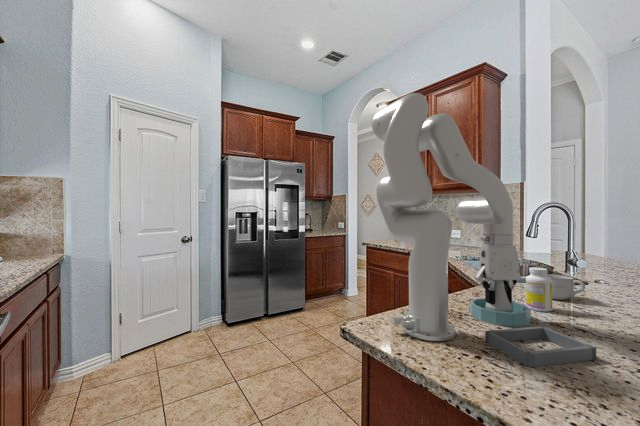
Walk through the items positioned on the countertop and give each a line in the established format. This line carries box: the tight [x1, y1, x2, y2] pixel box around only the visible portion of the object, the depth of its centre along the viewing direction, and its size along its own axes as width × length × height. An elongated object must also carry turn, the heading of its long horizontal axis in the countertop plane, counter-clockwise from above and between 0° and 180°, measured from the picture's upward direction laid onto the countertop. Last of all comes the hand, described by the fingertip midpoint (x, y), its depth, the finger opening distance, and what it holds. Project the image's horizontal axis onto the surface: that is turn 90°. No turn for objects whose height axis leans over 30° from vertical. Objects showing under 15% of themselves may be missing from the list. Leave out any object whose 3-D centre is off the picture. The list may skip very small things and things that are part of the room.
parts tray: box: [484, 325, 597, 368], centre depth 65 cm, size 16×12×2 cm
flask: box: [485, 281, 513, 312], centre depth 86 cm, size 7×7×10 cm
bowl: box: [469, 297, 532, 328], centre depth 86 cm, size 15×15×4 cm
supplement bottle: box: [525, 266, 553, 313], centre depth 94 cm, size 7×7×13 cm
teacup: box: [547, 273, 586, 301], centre depth 104 cm, size 14×11×8 cm
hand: (498, 301), depth 86 cm, fingers closed on flask, 4 cm apart
